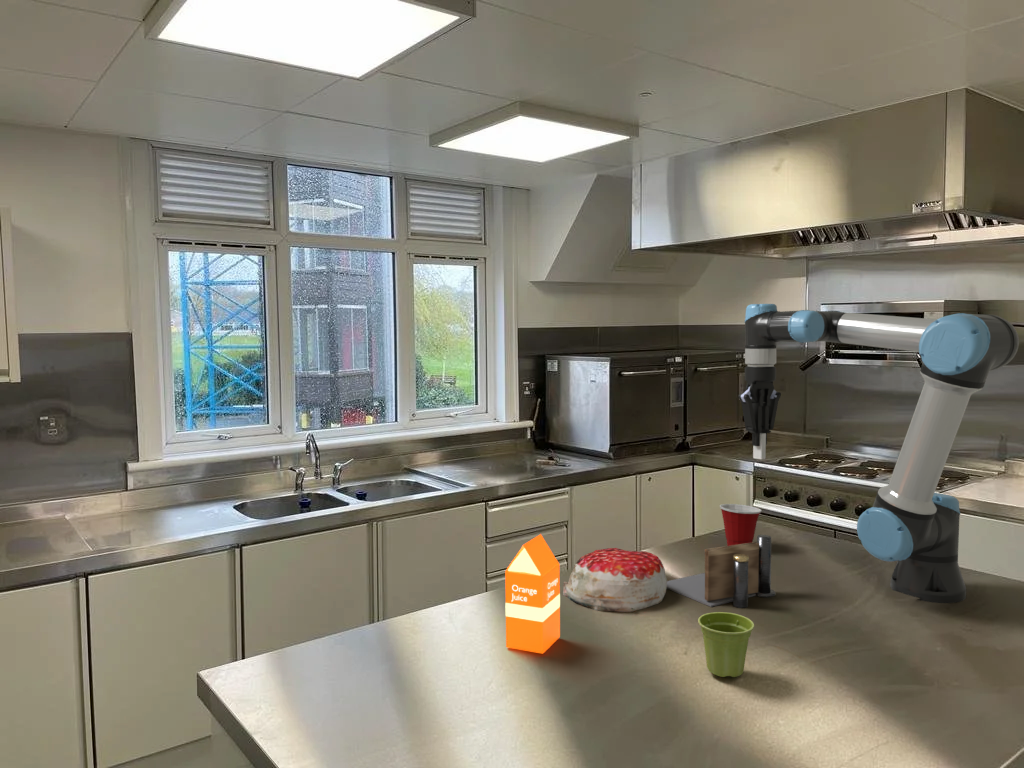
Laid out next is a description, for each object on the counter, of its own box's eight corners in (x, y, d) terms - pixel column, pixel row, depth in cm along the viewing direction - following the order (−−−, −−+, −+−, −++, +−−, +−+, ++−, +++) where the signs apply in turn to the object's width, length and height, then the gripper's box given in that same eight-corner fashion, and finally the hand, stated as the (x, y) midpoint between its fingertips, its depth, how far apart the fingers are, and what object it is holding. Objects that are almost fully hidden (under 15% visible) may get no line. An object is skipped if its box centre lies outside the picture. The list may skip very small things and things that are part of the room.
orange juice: (560, 636, 150) (560, 535, 149) (543, 654, 142) (542, 547, 141) (524, 630, 154) (523, 531, 152) (504, 647, 146) (503, 542, 144)
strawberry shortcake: (660, 576, 187) (660, 536, 186) (672, 613, 162) (672, 567, 162) (564, 575, 189) (564, 534, 188) (562, 611, 164) (561, 565, 164)
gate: (754, 590, 173) (754, 542, 172) (758, 592, 172) (759, 543, 171) (704, 599, 168) (704, 549, 167) (708, 601, 167) (708, 550, 166)
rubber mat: (766, 592, 174) (766, 591, 174) (710, 606, 165) (710, 605, 165) (711, 572, 188) (711, 571, 188) (658, 584, 180) (658, 583, 180)
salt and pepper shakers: (786, 597, 171) (787, 539, 170) (740, 609, 164) (741, 548, 163) (762, 588, 177) (763, 532, 176) (717, 599, 170) (717, 541, 169)
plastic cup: (770, 553, 204) (770, 508, 203) (736, 558, 200) (737, 512, 199) (743, 543, 214) (743, 500, 213) (710, 547, 210) (711, 504, 209)
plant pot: (763, 669, 135) (764, 621, 134) (736, 688, 128) (737, 637, 127) (715, 654, 141) (715, 608, 141) (687, 671, 135) (687, 622, 134)
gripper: (766, 364, 201) (765, 454, 202) (730, 365, 194) (729, 458, 196) (790, 365, 194) (788, 458, 196) (753, 366, 188) (752, 463, 189)
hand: (759, 458), depth 196 cm, fingers closed
